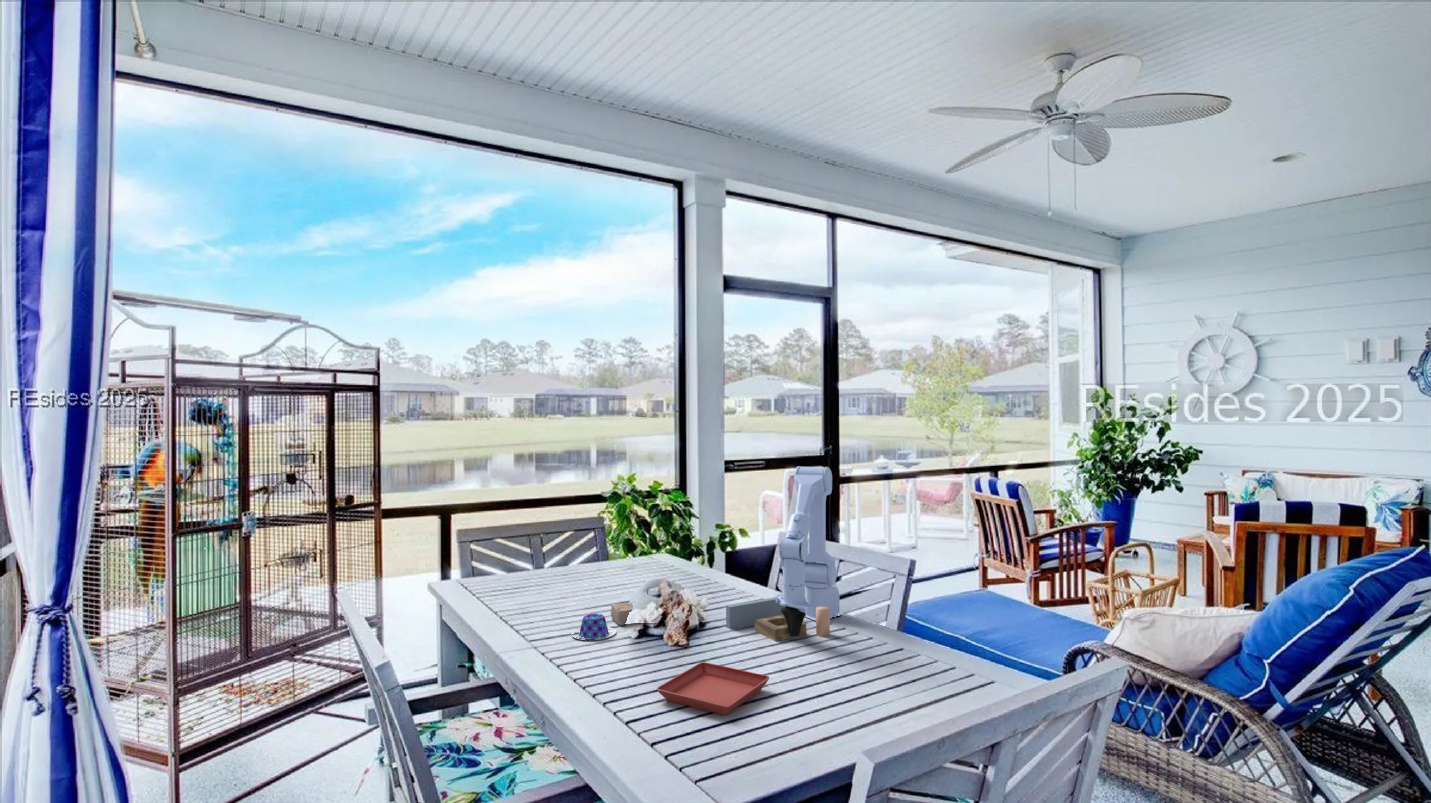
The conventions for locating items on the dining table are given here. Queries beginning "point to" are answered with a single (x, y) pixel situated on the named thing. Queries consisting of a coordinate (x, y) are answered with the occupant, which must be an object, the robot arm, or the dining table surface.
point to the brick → (621, 612)
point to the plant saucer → (713, 687)
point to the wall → (751, 612)
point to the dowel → (822, 621)
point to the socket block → (776, 628)
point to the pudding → (594, 627)
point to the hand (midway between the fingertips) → (794, 635)
